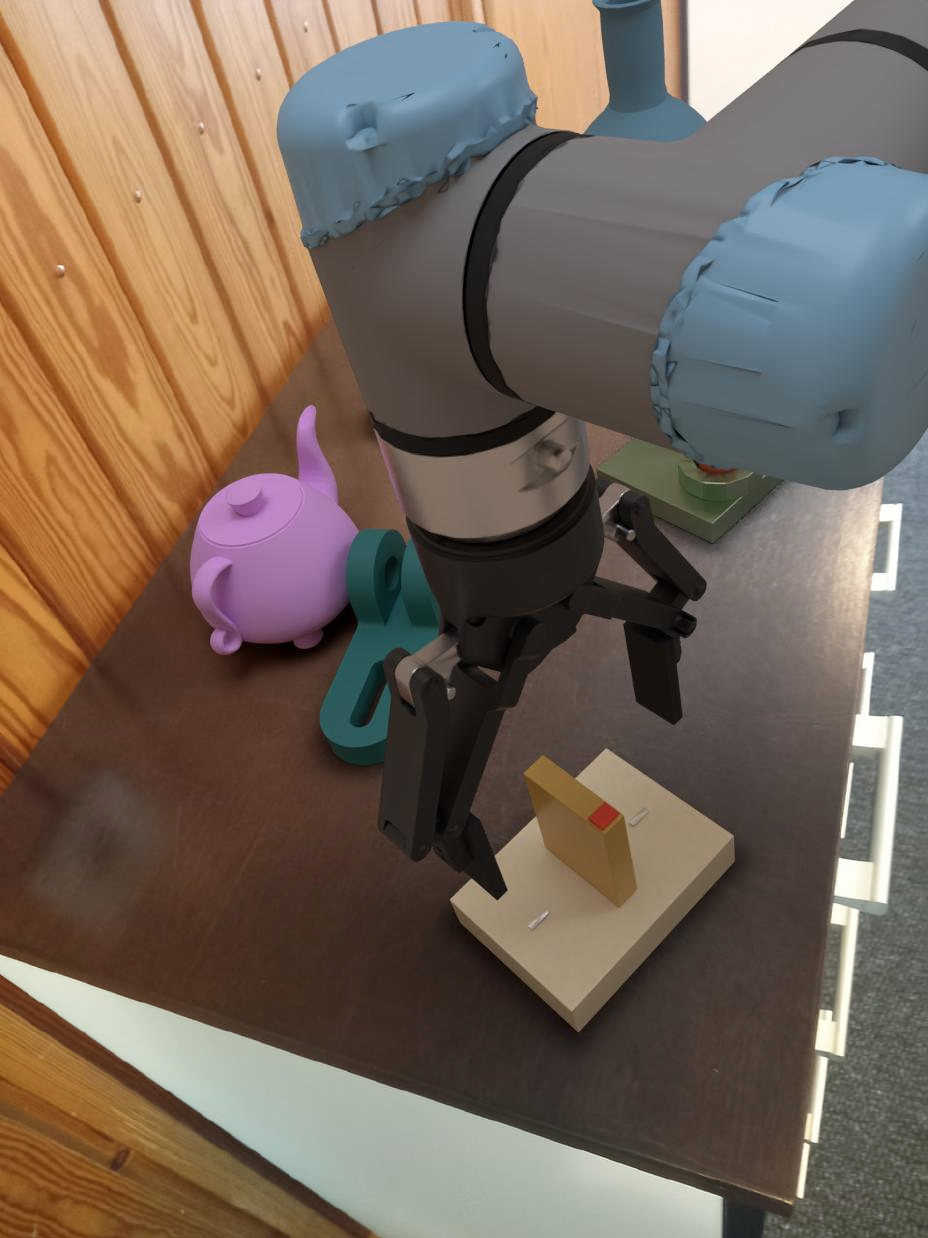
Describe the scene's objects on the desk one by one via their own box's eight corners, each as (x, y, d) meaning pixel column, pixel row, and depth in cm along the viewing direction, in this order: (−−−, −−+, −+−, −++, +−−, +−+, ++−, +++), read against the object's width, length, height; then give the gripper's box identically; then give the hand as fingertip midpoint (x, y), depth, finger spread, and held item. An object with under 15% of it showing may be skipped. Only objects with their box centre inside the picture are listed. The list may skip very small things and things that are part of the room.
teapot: (292, 506, 95) (243, 394, 86) (426, 527, 89) (388, 409, 80) (169, 668, 84) (98, 559, 75) (312, 705, 78) (254, 591, 69)
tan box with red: (544, 847, 62) (521, 770, 56) (563, 829, 63) (542, 751, 57) (619, 908, 59) (603, 833, 53) (638, 889, 59) (623, 812, 53)
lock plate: (611, 773, 68) (605, 746, 66) (735, 861, 62) (734, 834, 60) (459, 922, 64) (448, 898, 61) (578, 1033, 57) (570, 1010, 55)
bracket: (394, 580, 86) (367, 510, 80) (470, 585, 83) (449, 513, 78) (315, 759, 75) (278, 692, 69) (401, 770, 72) (370, 702, 67)
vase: (757, 216, 113) (755, -41, 95) (671, 294, 106) (652, 32, 88) (631, 195, 122) (608, -43, 104) (546, 265, 115) (505, 23, 97)
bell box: (793, 474, 84) (794, 435, 81) (715, 545, 81) (713, 507, 78) (674, 425, 91) (671, 388, 89) (599, 488, 88) (593, 451, 85)
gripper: (299, 742, 33) (452, 1011, 48) (777, 343, 42) (779, 676, 57) (183, 638, 37) (355, 914, 52) (635, 299, 46) (671, 618, 61)
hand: (575, 791), depth 55 cm, fingers open, 13 cm apart
